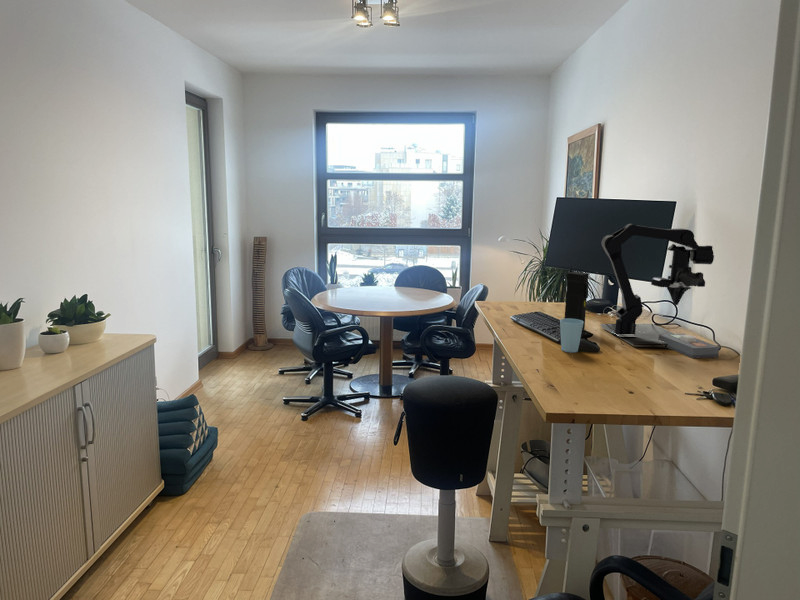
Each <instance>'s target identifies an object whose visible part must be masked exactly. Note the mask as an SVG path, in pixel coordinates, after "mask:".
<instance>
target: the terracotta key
mask: <svg viewBox="0 0 800 600" xmlns="http://www.w3.org/2000/svg"><path fill="white" fill-rule="evenodd" d="M691 344H692V345H695V346H698V347H704V346H707V345H705V344H702V343H691Z"/></svg>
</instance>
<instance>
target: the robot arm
mask: <svg viewBox="0 0 800 600" xmlns="http://www.w3.org/2000/svg"><path fill="white" fill-rule="evenodd" d="M633 236H639V237H643V238H652V239H659V240H660V239H661V240H666V241H668V242H672V244H671V245H670V246H668V247H667V251H670V252H672V257H671V258H672V260H671V264H669V266H668V268H669V269H670V275H667V278H665V277H658V276H657V277H652V279H651V284H650V285H651V286H655V287H658V288H666V289H667V291H668V293H669V295H670V299H671V301H672V303H673V305H674V306H678V305H679V303H680V301H681V299H682V298H683V296H684V294H685V292H687V291H688V290H691V289H692V287H699V288H700V287H701V288H703V287H705V286H706V280H705V279H704V273H703V272H701V271H699V272H698V271H697V272H692V266H690V262H692V263H693V264H694V265H712V264H713V262H714V259H715V255H714V249H713V245H699V244H698V243H697V242H696V239H695V234H694V232H693V231H692V230H690V229H688V228H668V229H667V228H659V227H650V226H644V225H636V224H633V223H628V224H626V225H624V227H623V228H620V229H619V230H617V231H615V232H613V233H612V234H607V235H606V236H605V235H604V236H603V238H602V240H601V246H602V248H603V250H604V252H605V254H606V255H607V257H608V258H609V260H610V263H611V266H612V269H613V271H614V275H615V279H616V281H617V284H618V287H619V290H620V293H621V306H622V307H621V308H619V309H618V310H617V311H616V312H615V313H616V314H615V315H616V317H617V318H616V319H615V329H614V332H612V335H614V336H616V337H618V336H617V335H615V334H614V333H616V334H635V335H636V329H637V328H636V327H637V324H636V321H637V319H638V318H639V317H640V316H641V315H642V314H643V308H644V307H645V306H643V304H642V298H641V296H640V295H638V294H635V293H634V291H633V288H632V285H631V282H630V279H629V275H628V273H627V270H626V266H625V264H624V260H623V249H622V245H623V244H624V243H626V242H627V241H628V240H630V239H631V238H632V237H633ZM676 244H678V245H680V246H677V245H676ZM686 247H687V248H688V249H686ZM689 248H690V249H689Z"/></svg>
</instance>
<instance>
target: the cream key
mask: <svg viewBox="0 0 800 600" xmlns="http://www.w3.org/2000/svg"><path fill="white" fill-rule="evenodd" d="M697 339H698V338H697V336H694V335H691V334H685V335H681V337H680V340H682V341H685V342H696V340H697Z"/></svg>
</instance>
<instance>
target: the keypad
mask: <svg viewBox="0 0 800 600" xmlns="http://www.w3.org/2000/svg"><path fill="white" fill-rule="evenodd" d="M670 335H686V334H685V333H665V334H658V340H661V341H664V342H666V343H667V344H668V345H667V347H666V348H667V349H669V350H671V351H674V352H677V353H678V354H681V355H684V356H686V357H688V358H691V359H698V358H699V359H703V358H704V359H705V358H719V354H720V353H719V352H720V346H718V345H716V344H712V343H709V342H708V341H707V342H706V341H704V340H702V339H699V338H697V340H696V342H685V341H682V340H680V338H674V337H672V336H670ZM691 343H702V344H705V345H707V346H704V347H698V346H695V345H692V344H691Z"/></svg>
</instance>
